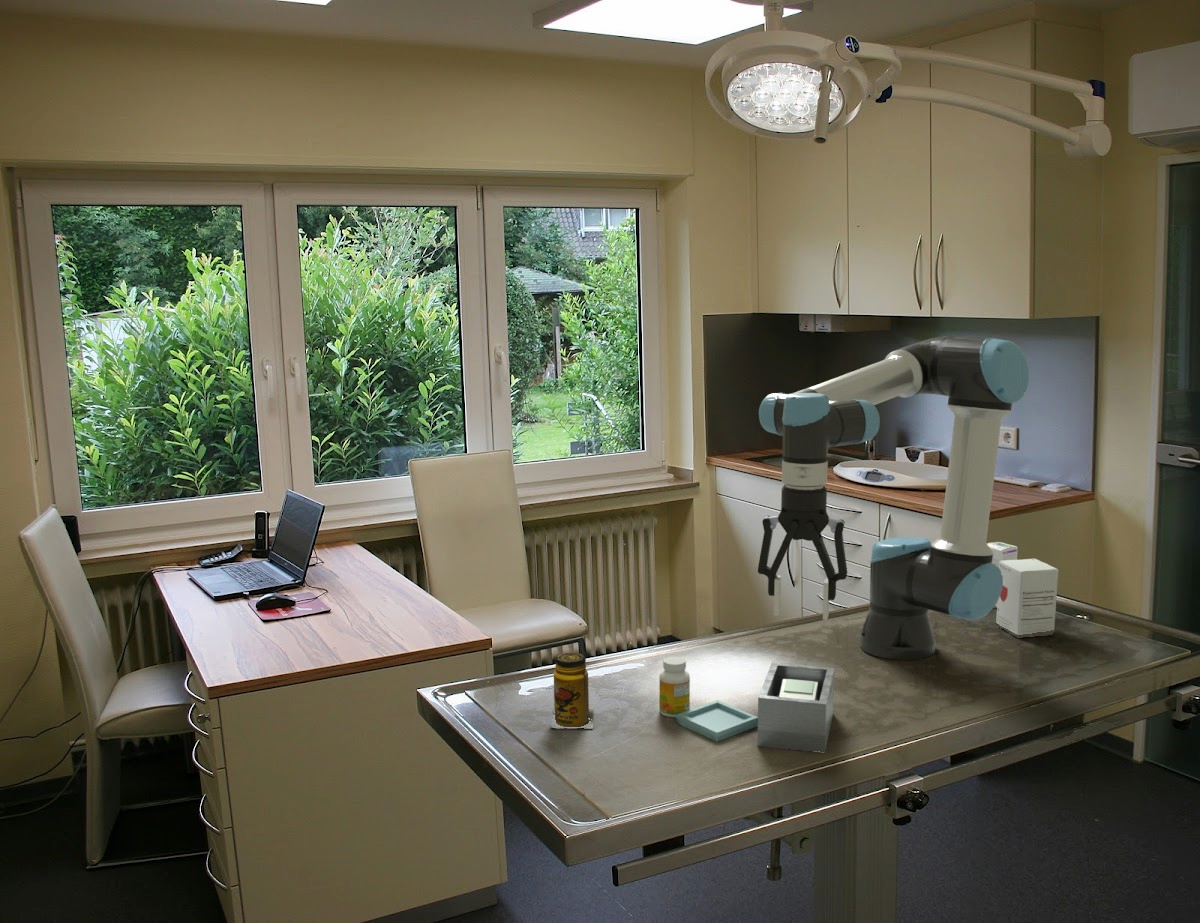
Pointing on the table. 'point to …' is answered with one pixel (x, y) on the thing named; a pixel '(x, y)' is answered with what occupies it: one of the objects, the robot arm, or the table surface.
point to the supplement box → (1027, 596)
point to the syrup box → (1002, 552)
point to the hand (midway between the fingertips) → (801, 615)
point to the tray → (717, 720)
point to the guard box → (795, 709)
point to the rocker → (799, 689)
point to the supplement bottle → (674, 687)
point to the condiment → (571, 691)
